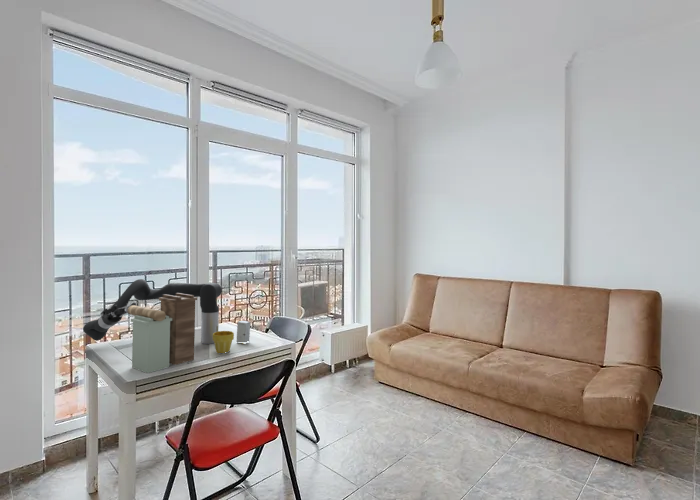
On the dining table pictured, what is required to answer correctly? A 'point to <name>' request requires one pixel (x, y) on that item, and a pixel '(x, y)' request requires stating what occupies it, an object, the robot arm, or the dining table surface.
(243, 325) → the skincare box
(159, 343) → the pale green lidded tub
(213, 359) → the dining table surface
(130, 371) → the dining table surface
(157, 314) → the tan roll
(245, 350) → the dining table surface
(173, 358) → the walnut tub
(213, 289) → the robot arm
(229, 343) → the plant pot
